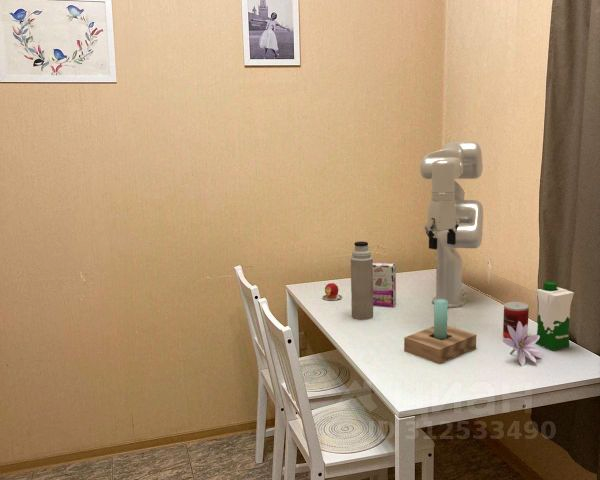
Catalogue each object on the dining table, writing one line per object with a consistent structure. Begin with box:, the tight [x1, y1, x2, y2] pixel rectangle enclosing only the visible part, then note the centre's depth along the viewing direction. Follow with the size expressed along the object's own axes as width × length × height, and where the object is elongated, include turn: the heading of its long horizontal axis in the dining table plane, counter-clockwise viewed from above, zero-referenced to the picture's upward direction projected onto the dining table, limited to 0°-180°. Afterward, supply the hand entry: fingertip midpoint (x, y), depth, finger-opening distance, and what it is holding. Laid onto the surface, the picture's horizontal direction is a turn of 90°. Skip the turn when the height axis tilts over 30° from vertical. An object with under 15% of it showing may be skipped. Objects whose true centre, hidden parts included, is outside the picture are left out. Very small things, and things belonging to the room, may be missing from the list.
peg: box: [433, 299, 449, 340], centre depth 195 cm, size 4×4×16 cm
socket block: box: [403, 325, 477, 364], centre depth 197 cm, size 18×14×4 cm
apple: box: [322, 282, 343, 301], centre depth 253 cm, size 8×8×6 cm
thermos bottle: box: [350, 241, 374, 321], centre depth 228 cm, size 8×8×28 cm
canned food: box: [502, 301, 530, 341], centre depth 204 cm, size 8×8×11 cm
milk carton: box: [535, 281, 575, 352], centre depth 195 cm, size 9×9×20 cm
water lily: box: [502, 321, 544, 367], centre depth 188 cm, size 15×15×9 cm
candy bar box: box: [373, 261, 397, 308], centre depth 242 cm, size 11×5×16 cm, turn 68°
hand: (442, 246), depth 213 cm, fingers open, 9 cm apart
